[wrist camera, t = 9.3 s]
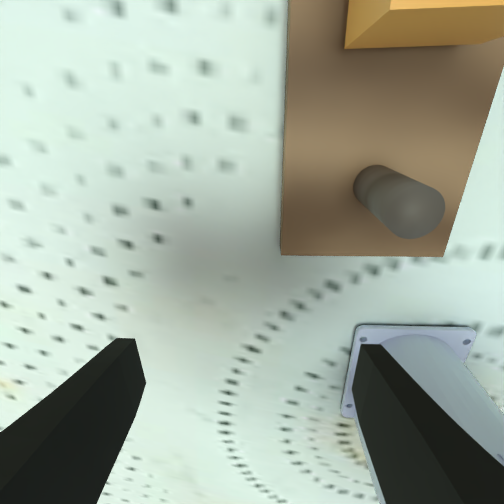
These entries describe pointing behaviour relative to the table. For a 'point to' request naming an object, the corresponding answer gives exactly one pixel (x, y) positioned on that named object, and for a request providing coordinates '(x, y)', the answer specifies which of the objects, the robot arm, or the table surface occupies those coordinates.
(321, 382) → the table surface
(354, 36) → the wooden toy cube
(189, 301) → the table surface
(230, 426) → the table surface
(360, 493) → the table surface
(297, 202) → the wooden peg board
